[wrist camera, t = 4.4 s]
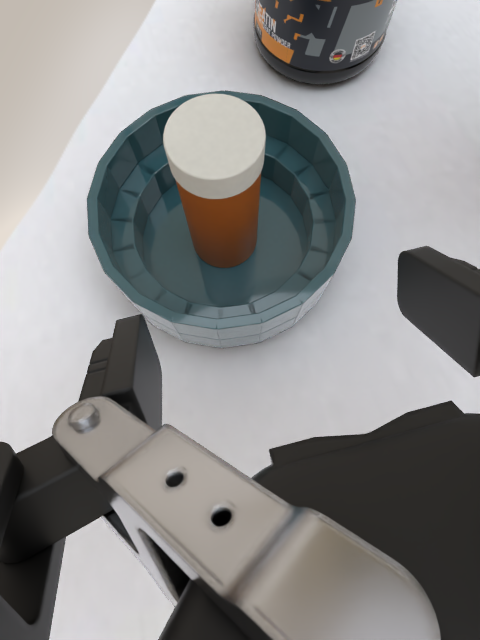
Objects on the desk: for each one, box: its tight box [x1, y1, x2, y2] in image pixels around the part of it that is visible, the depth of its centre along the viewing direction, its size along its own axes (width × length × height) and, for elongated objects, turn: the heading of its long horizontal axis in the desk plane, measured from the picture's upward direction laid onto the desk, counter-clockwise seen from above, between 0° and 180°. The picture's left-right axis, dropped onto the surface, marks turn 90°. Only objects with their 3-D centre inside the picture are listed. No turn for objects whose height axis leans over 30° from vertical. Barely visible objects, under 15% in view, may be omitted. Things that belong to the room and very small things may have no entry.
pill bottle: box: [163, 94, 266, 268], centre depth 22 cm, size 5×5×10 cm
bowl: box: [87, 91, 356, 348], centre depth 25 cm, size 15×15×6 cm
